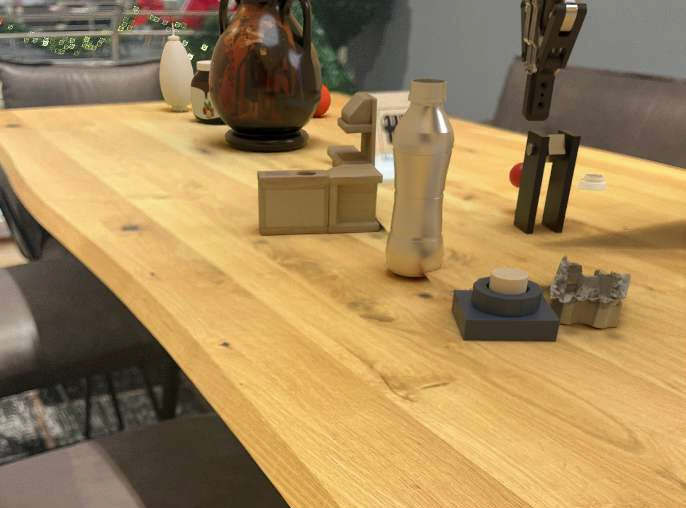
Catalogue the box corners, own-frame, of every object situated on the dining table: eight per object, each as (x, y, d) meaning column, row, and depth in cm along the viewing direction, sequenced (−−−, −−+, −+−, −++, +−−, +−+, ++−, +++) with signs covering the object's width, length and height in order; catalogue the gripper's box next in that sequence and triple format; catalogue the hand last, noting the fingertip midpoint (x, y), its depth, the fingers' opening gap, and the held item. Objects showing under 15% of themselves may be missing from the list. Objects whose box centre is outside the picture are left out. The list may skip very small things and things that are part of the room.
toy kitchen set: (248, 199, 116) (244, 87, 107) (356, 196, 118) (361, 86, 109) (261, 236, 101) (258, 109, 92) (384, 231, 103) (392, 107, 94)
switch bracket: (500, 231, 104) (516, 128, 96) (549, 229, 105) (568, 127, 97) (520, 247, 98) (539, 139, 91) (571, 244, 99) (593, 137, 92)
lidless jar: (612, 199, 119) (597, 191, 123) (617, 179, 117) (601, 171, 121) (582, 200, 118) (568, 192, 122) (586, 179, 116) (572, 172, 120)
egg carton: (554, 289, 86) (562, 252, 83) (624, 299, 83) (634, 262, 81) (540, 322, 78) (547, 283, 75) (617, 334, 75) (627, 294, 73)
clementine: (319, 112, 182) (320, 79, 178) (339, 116, 178) (340, 82, 174) (294, 116, 178) (294, 81, 174) (314, 120, 174) (315, 84, 170)
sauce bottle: (181, 114, 178) (173, 24, 167) (156, 111, 181) (147, 22, 171) (202, 110, 183) (197, 22, 173) (177, 107, 186) (170, 20, 176)
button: (521, 284, 76) (524, 267, 75) (529, 297, 74) (532, 279, 72) (485, 284, 76) (488, 266, 75) (492, 297, 74) (495, 279, 72)
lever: (506, 191, 105) (504, 167, 105) (527, 190, 106) (526, 167, 106) (545, 157, 94) (543, 131, 93) (569, 157, 94) (568, 130, 94)
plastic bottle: (434, 287, 86) (455, 86, 74) (376, 279, 88) (388, 82, 76) (446, 269, 91) (468, 79, 79) (391, 262, 93) (404, 75, 81)
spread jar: (187, 121, 170) (182, 61, 164) (220, 115, 178) (217, 57, 171) (228, 127, 165) (225, 66, 158) (260, 120, 173) (259, 61, 166)
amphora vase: (339, 140, 154) (344, -28, 138) (288, 160, 139) (287, -26, 122) (248, 130, 162) (243, -30, 146) (190, 148, 147) (176, -29, 130)
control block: (536, 311, 80) (543, 273, 78) (556, 342, 74) (564, 302, 71) (451, 309, 80) (455, 272, 78) (463, 341, 74) (468, 301, 71)
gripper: (647, -125, 56) (596, 132, 66) (591, -113, 67) (555, 107, 77) (545, -125, 56) (509, 133, 66) (506, -113, 67) (480, 107, 77)
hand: (534, 119), depth 71 cm, fingers closed
